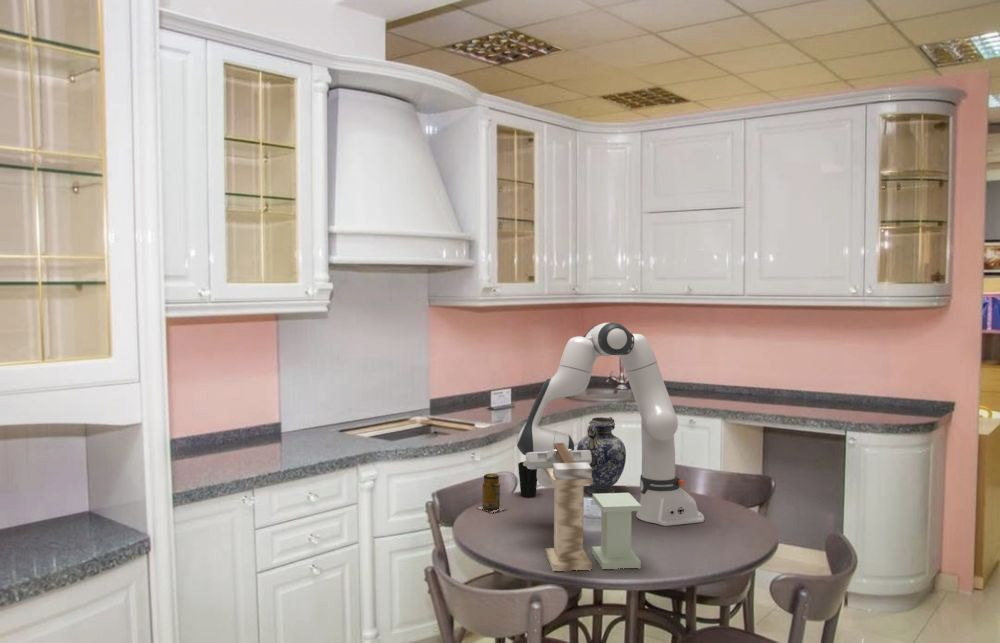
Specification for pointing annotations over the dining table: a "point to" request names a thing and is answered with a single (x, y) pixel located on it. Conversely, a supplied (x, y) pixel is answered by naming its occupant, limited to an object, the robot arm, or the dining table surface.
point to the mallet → (569, 465)
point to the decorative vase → (603, 455)
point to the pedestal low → (616, 531)
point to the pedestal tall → (568, 525)
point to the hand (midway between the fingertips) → (562, 451)
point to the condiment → (491, 492)
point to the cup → (527, 481)
